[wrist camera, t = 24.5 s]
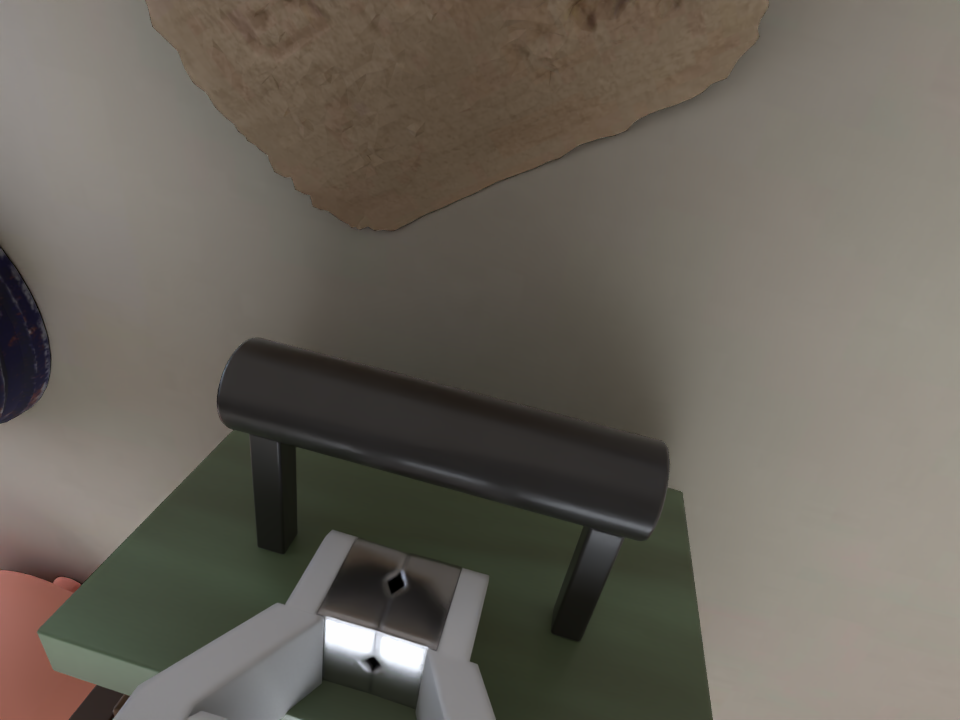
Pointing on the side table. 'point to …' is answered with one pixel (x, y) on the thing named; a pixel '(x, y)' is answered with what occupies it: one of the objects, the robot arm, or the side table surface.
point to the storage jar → (20, 345)
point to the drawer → (412, 541)
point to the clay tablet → (442, 85)
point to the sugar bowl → (33, 651)
